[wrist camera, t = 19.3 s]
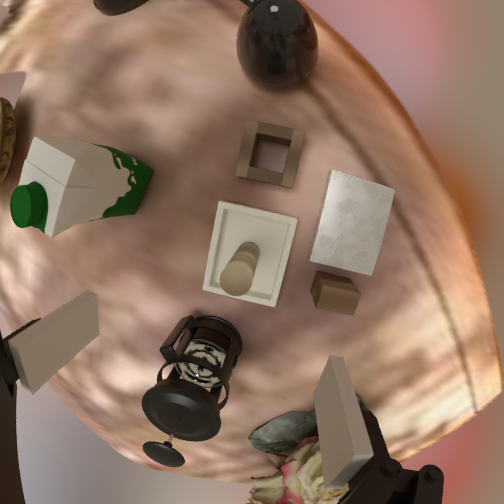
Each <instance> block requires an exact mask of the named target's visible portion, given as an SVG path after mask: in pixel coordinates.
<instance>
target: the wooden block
mask: <svg viewBox="0 0 504 504" xmlns="http://www.w3.org/2000/svg"><path fill="white" fill-rule="evenodd" d="M311 294H312V297H313V300H314V303H315V307H316V308H317V309H322V310H327V311H332V312H337V313H342V314H347V315H352V316H354V313H355V310H356V307H357V305H358V302H359V299H360V296H361V293H360V291H359V290H358V289H357V287H356V286H355V285H354V284H353V282H352V281H351V280H350V279H349V278H345V277H340V276H336V275H332V274H327V273H323V272H319V271H316V274H315V278H314V281H313V285H312V288H311Z"/></svg>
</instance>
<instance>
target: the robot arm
mask: <svg viewBox="0 0 504 504" xmlns="http://www.w3.org/2000/svg"><path fill="white" fill-rule="evenodd" d="M146 1H147V0H93V2H94V5H95V7H96V8H97V9H98V10H99V11H100V12H101V13H103V14H105V15H118V14H122V13H125V12H127V11H130V10H132V9H134V8H136V7H138V6H140V5H141V4H143V3H144V2H146ZM98 335H99V318H98V294H96V293H93V292H91V291H86V292H85V293H83V294H81V295H80V296H78V297H76V298H75V299H73V300H71V301H70V302H68V303H66V304H65V305H63V306H62V307H60V308H58V309H57V310H55V311H53V312H52V313H50V314H49V315H47V316H45V317H44V318H42V319H41V318H39V319H36V320H32V321H30V322H29V323H27V324H26V325H25V326H22V327H21V328H20V329H18V330H16V331H15V332H13V333H11V334H10V335H8V336H7V337H5V338H4V339H2V335H1V331H0V504H26V503H25V499H24V494H23V489H22V483H21V477H20V470H19V463H18V462H19V461H18V451H17V435H16V396H17V384H16V381H17V380H18V379H20V382H21V384H22V387H23V388H24V389H25V390H27V391H28V392H29V393H31V394H32V395H33V394H34V393H35V392H36V391H37V390H38V389H39V388H40V387H41V386H43V384H45V383H46V382H47V381H48V380H49V379H50V378H51V377H52V376H53V375H54V374H56V373H57V372H58V371H59V370H60V369H61V368H62V367H63V366H64V365H65V364H66V363H68V362H69V361H70V360H71V359H72V358H73V357H74V356H75V355H76V354H78V353H79V352H80V351H81V350H82V349H83V348H84V347H85V346H87V345H88V344H89V343H90V342H91V341H92V340H93V339H95V338H96V337H97V336H98ZM313 396H314V403H315V411H316V418H317V426H318V434H319V443H320V452H321V461H322V470H323V481H324V489H342V488H343V487H344V486H345V485H346V484H347V483H348V487H349V490H348V491H347V492H346V493H345V494H344V495H343V496H342V497H341V498H340V499H338V500H339V501H338V502H337V504H442V496H443V484H444V476H443V472H442V471H441V469H439V468H438V467H437V466H435V465H425V466H423V467H422V468H421V469H420V470H419V471H414V470H408V469H403V468H402V466H401V464H400V463H399V462H398V461H396V460H395V459H392V458H390V456H389V453H388V450H387V447H386V444H385V441H384V438H383V435H382V434H381V433H382V432H381V429H380V428H379V424H378V421H377V418H376V417H375V416H374V415H373V413H372V412H371V411H367V410H360V407H359V404H358V400H357V397H356V394H355V391H354V388H353V385H352V382H351V379H350V376H349V373H348V370H347V367H346V364H345V362H344V359H343V357H337V356H331V355H330V356H329V359H328V361H327V363H326V366H325V368H324V370H323V373H322V375H321V377H320V379H319V382H318V384H317V386H316V388H315V390H314V392H313Z"/></svg>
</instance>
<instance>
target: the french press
mask: <svg viewBox="0 0 504 504" xmlns="http://www.w3.org/2000/svg"><path fill="white" fill-rule="evenodd" d="M198 328H209V329H213V330H216V331H218V332H220V333H222V334H223V335H225V336H226V337H227V338H228V339H229V340H230V343H229V346H228V349H227V352H226V351H225V349H223V348H222V347H221V346H219V345H218V344H216V343H214V342H212V341H210V340H206V339H201V338H193V337H194V335H195V333H196V332H197V330H198ZM184 329H185V330H184ZM183 330H184V332H183ZM182 332H183V335H182V336H181V338H180V340H179V345H178V347H177V348H176V349H175V350H174V348H173V345H174V344H175V342H176V341H177V339H178V338H179V336H180V335H181V333H182ZM241 349H242V341H241V337H240V335H239V333H238V331H237V330H236V328H235V327H234V326H233V325H232V324H230V323H229V322H228V321H226V320H224V319H222V318H219V317H216V316H201V317H197V318H195V319H194V317H193V315H190V316H187V317H184V318H182V319H181V320H180V321H179V323H178V324H177V325H176V327H175V328H174V330H173V331H172V332H171V334H170V335H169V336H168V338H167V339H166V341H165V342H164V343H163V345H162V346H161V347H160V352H161V354H162V355H163V357H164V358H165V360H166V362H165V363H164V364H163V366H162V367H161V369H160V371H159V373H158V375H157V384H156V385H155V386H154V387H152V388H150V389H149V390H147V392H146V393H145V394H144V396H143V399H142V408H143V411H144V413H145V415H146V416H147V418H148V419H149V421H150V422H151V423H152V424H153V425H154V426H156V427H157V428H158V429H160V430H161V431H163V432H164V433H166V434H168V435H170V436H169V438H168V441H165V442H164V443H159V442H152V441H150V442H146V443H144V444H143V451H144V452H145V454H146V455H147V456H148V457H150V458H151V459H152V460H154V461H155V462H157V463H159V464H162V465H165V466H169V467H180V466H182V465H183V464H184V463H185V459H184V457H183V456H182V455H181V454H180V453H179V452H178V451H177V450H175V449H174V448H172V444H171V441H172V438H173V437H175V438H178V439H181V440H186V441H205V440H208V439H211V438H213V437H214V436H215V435H217V433H218V432H219V430H220V427H221V419H220V410H221V409H222V408H223V407H224V406H225V404H226V402H227V399H228V396H229V389H230V387H229V382H228V381H229V379H230V377H231V375H232V370H233V368H234V367H235V365H236V363H237V359H238V357H239V355H240V353H241ZM172 363H174V367H173V369H172V370H171V372H170V374H169V376H168V377H167V379H164V380H162V370H163V368H164V367H166V366H167V365H170V364H172ZM180 376H182V377H183V378H184V379H180ZM223 385H224V387H225V390H226V398H225V399H224V400H223V401H222V402H221V403H220V404H218V400H219V397H220V393H221V390H222V386H223ZM203 387H204V388H203ZM205 388H211V391H210V392H209V391H208V390H206V389H205Z"/></svg>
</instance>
